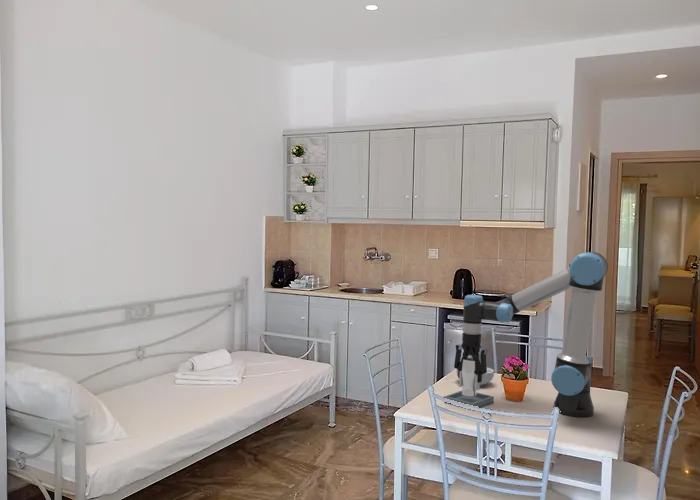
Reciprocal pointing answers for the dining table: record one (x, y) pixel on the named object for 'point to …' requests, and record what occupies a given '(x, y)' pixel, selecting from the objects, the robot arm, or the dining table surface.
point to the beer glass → (469, 377)
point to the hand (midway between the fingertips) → (469, 387)
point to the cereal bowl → (486, 376)
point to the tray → (471, 399)
